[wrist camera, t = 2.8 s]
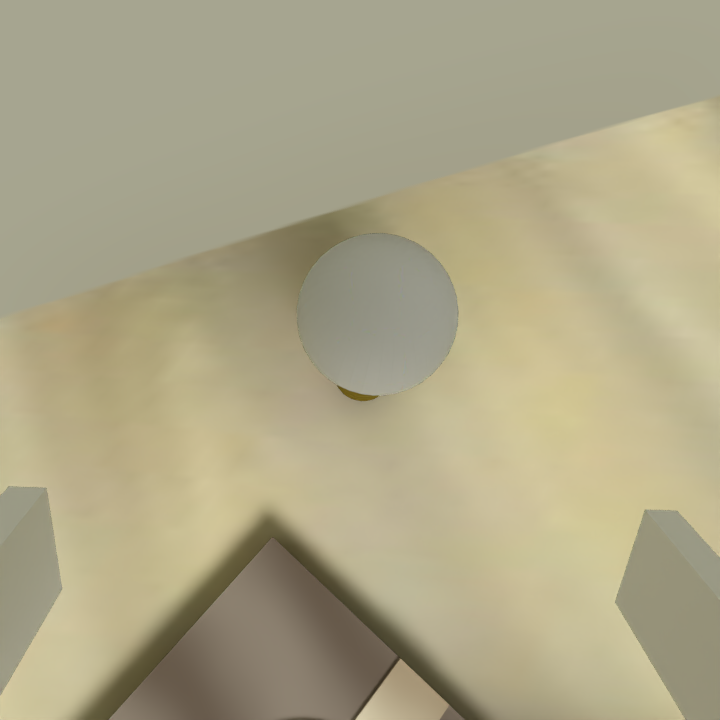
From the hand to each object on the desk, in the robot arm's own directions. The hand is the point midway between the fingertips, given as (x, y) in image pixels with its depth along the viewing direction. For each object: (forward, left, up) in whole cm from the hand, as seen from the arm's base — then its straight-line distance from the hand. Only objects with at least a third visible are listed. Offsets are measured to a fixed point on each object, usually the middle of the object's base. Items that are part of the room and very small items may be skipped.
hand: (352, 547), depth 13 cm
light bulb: (-7, -5, -12) cm, 15 cm away
